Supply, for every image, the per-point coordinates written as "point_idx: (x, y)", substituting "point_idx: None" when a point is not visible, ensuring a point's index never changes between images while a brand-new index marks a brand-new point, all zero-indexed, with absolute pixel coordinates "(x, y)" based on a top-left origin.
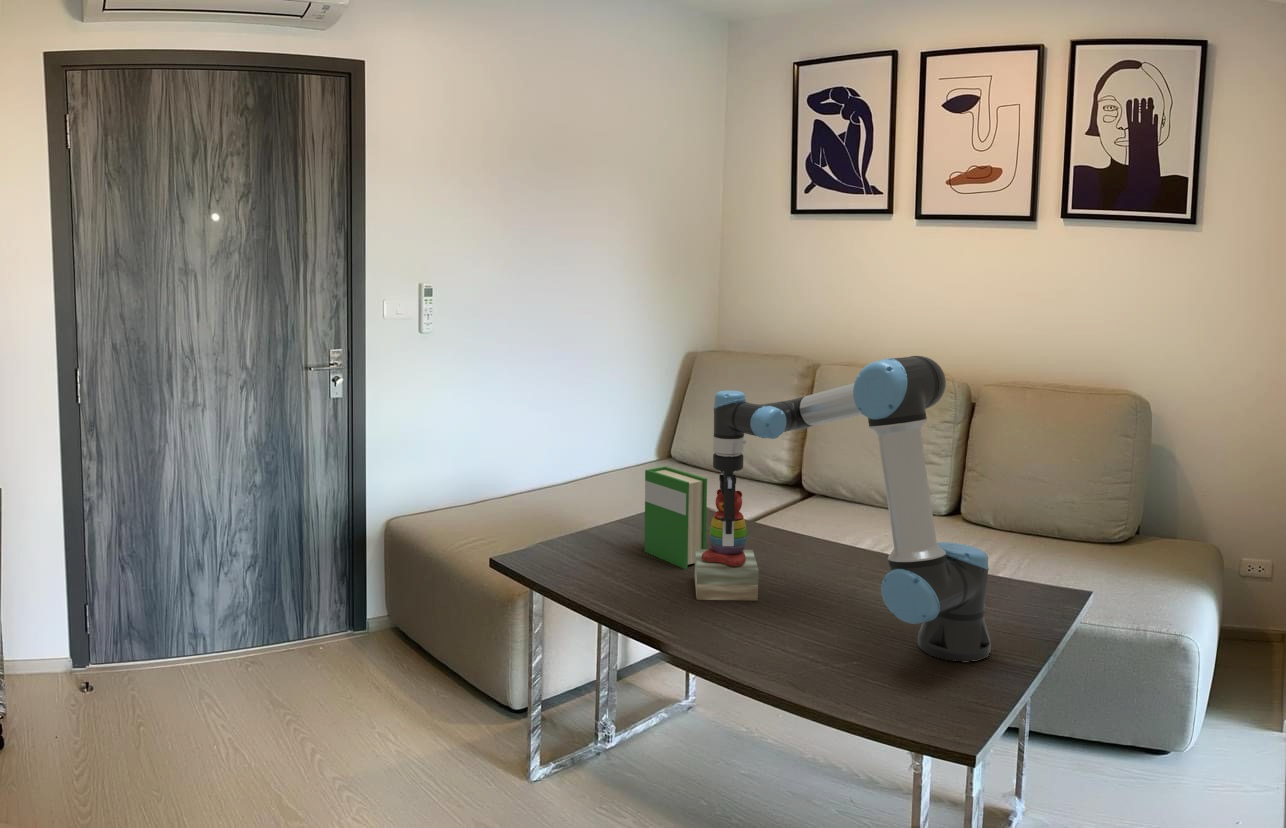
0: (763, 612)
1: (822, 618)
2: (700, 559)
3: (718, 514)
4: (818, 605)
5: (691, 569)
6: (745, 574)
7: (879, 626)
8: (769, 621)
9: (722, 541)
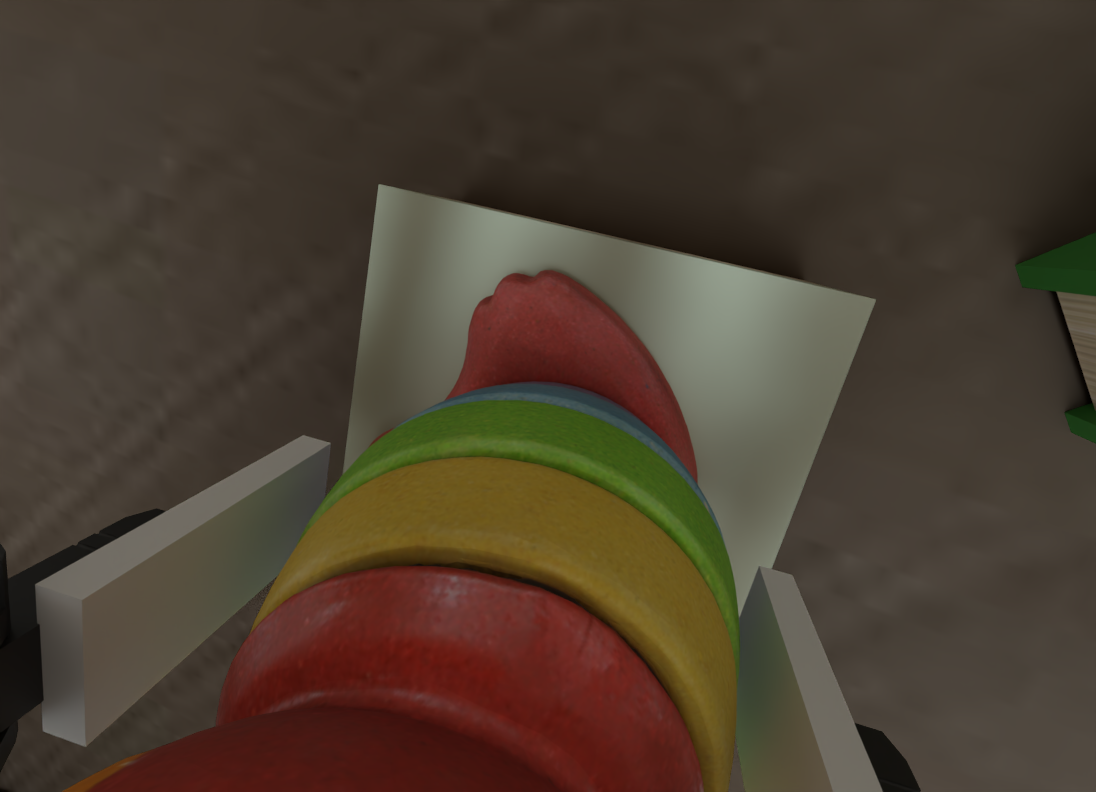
0: None
1: (213, 655)
2: (588, 270)
3: (334, 642)
4: None
5: (986, 307)
6: None
7: None
8: (187, 458)
9: (302, 455)
